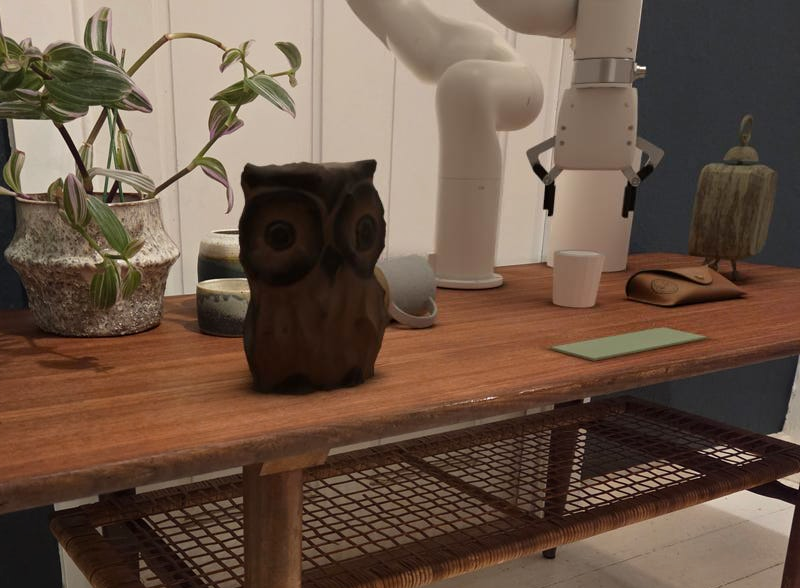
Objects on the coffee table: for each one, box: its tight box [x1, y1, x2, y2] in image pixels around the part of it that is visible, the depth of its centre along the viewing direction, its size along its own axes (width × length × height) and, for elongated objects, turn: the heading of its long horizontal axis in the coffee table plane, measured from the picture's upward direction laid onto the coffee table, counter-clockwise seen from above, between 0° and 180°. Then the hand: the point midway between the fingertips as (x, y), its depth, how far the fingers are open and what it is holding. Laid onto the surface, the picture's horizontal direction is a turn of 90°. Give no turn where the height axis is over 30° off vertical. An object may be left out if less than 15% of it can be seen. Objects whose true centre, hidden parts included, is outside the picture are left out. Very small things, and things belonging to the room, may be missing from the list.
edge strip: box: [550, 326, 708, 362], centre depth 100 cm, size 20×6×1 cm, turn 124°
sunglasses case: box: [624, 263, 749, 307], centre depth 128 cm, size 18×7×7 cm
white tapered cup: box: [552, 250, 605, 309], centre depth 122 cm, size 7×7×7 cm
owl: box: [237, 158, 391, 396], centre depth 80 cm, size 13×13×20 cm
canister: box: [546, 147, 643, 273], centre depth 153 cm, size 14×14×20 cm
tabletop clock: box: [687, 114, 779, 281], centre depth 140 cm, size 14×9×25 cm, turn 144°
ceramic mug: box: [374, 253, 438, 329], centre depth 109 cm, size 11×8×8 cm
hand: (587, 216), depth 118 cm, fingers open, 9 cm apart
